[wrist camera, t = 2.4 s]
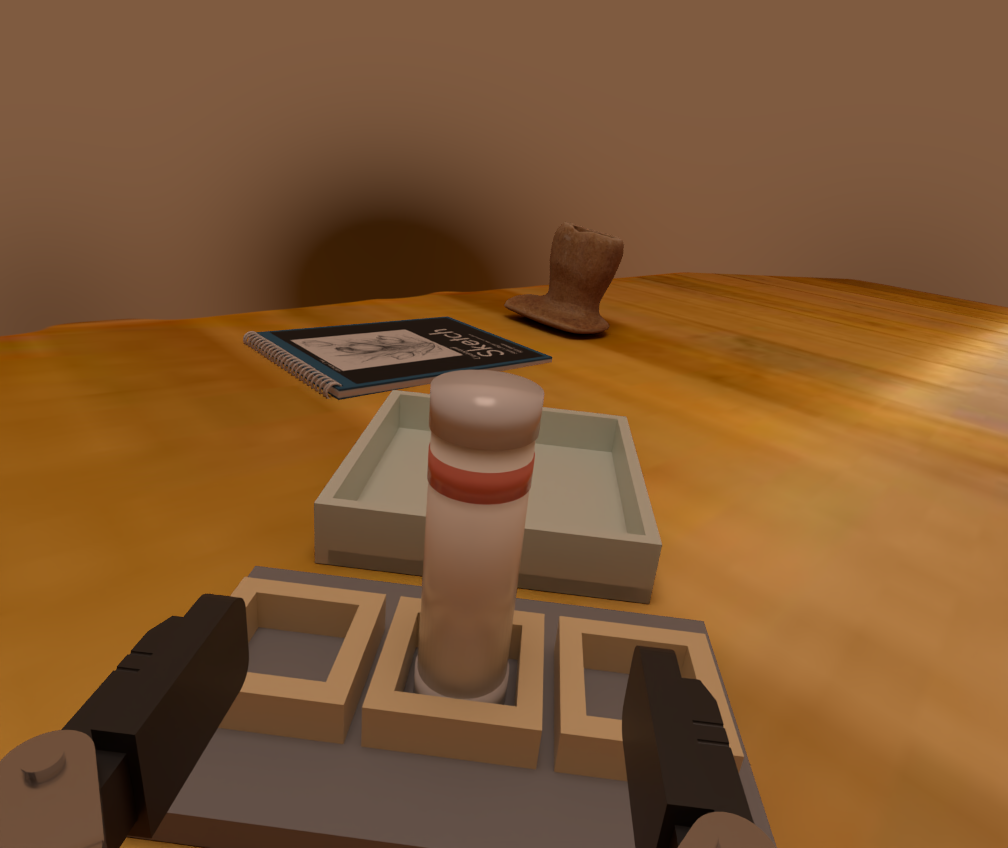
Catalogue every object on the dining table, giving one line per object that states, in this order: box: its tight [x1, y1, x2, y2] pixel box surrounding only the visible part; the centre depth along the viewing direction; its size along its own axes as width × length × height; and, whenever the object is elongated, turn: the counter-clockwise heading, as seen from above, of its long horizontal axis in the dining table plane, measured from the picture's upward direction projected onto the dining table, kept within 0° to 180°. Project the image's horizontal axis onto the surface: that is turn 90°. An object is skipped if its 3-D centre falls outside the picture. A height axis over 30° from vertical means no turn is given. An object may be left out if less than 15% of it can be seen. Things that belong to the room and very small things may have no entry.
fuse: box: [413, 370, 544, 705], centre depth 26 cm, size 4×4×14 cm
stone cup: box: [504, 222, 624, 334], centre depth 97 cm, size 15×12×15 cm
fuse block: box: [127, 566, 777, 848], centre depth 28 cm, size 24×14×4 cm, turn 86°
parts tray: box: [314, 390, 662, 604], centre depth 47 cm, size 20×20×4 cm
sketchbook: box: [243, 317, 552, 400], centre depth 79 cm, size 22×30×2 cm
